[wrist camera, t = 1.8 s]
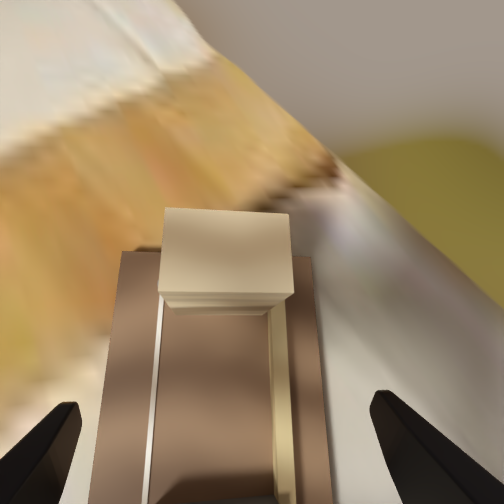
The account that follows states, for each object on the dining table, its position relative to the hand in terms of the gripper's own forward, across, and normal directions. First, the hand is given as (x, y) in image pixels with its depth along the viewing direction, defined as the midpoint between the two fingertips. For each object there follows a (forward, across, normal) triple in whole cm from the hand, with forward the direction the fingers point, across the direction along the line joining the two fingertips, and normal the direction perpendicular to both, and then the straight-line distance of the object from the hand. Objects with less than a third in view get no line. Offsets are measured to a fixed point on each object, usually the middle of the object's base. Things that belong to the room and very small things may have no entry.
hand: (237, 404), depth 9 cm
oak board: (+8, 0, +9) cm, 12 cm away
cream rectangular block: (+12, 0, +4) cm, 13 cm away
